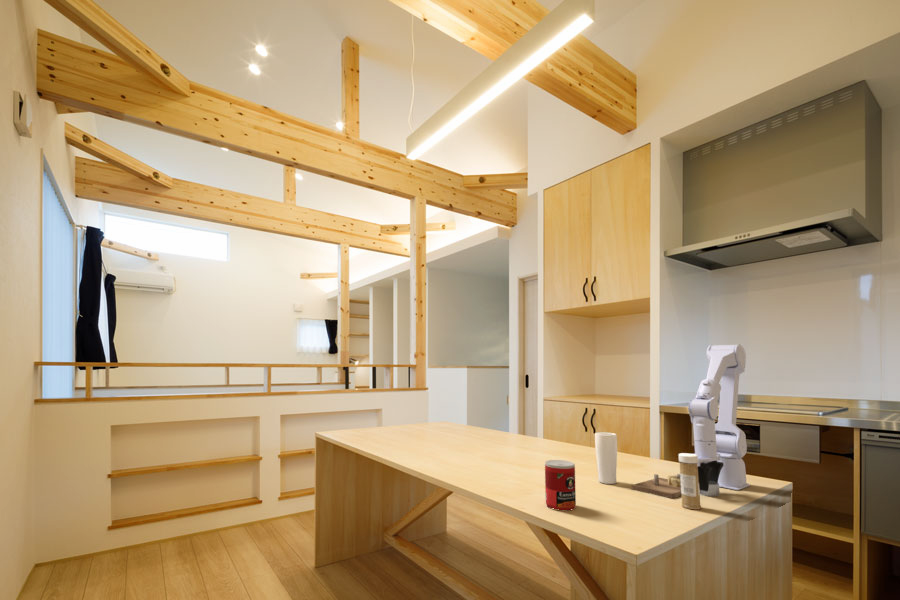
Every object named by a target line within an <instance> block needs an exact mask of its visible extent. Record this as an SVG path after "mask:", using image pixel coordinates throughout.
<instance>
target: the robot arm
mask: <svg viewBox="0 0 900 600" xmlns="http://www.w3.org/2000/svg"><path fill="white" fill-rule="evenodd" d="M706 358H707V359H706V360H707V362H708V364H709V365H708V369H707V373H706V378H705V379H702V380H701V381H700V384H699V387H698V389H697V392H696V394H695V398H693V399H692V400H690V401H689V402H688V409H687V411H688V415H689V417H690V422H691V424H693V440H694V442H693V443H694V454H695V455H697V456H698V464H697V467H698V479H699V489H700V490H703V491H708V488H709V481H714V482H717V483H719V488H725V489H730V490H734V491H735V490H736V491H740V490H742V489H745V488H747V487H750V486H751V484H750V483H747V472H746V464H745V461H744V460H743V458H744V457H745V455H746V454H747V449H748V447H747V446H748V445H747V439H746V437H747V436H746V434H745V432H744V431H743V430H742V429H741V428H739V427H738V426H737V414H738V401H739V400H738V399H739V387H740V386H739V385H740V384H739V383H740V376H741V374H743V373H745V369H746V362H747V361H746V359H747V357H746V350H745V348H744V347H743V345H742V344H741V343H740V344H718V345H717V344H710V345H708V347H707V349H706ZM720 382H721V383H720ZM718 400H719V402H718ZM716 419H717V423H716Z"/></svg>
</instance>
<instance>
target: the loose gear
mask: <svg viewBox="0 0 900 600" xmlns="http://www.w3.org/2000/svg"><path fill="white" fill-rule="evenodd" d="M720 493H721V492H720V487H719V483H717V482H714V481H709V488H708V491H703V490H700V495H701V496H705V495H706V497H715V496H717V497H718V495H719V496H721V494H720Z"/></svg>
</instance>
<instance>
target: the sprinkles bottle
mask: <svg viewBox="0 0 900 600" xmlns="http://www.w3.org/2000/svg"><path fill="white" fill-rule="evenodd" d="M678 463H679V474H680V480H681V494H682V495H681V506H682V508H685V509H688V510H701V509H702V508H701V507H702V505H701V497H700V495H701V494H700V489H699V479H698V467H697V464H698V456H697V455H695V453H687V452H681V453H678Z"/></svg>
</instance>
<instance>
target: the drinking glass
mask: <svg viewBox="0 0 900 600" xmlns="http://www.w3.org/2000/svg"><path fill="white" fill-rule="evenodd" d="M617 435H618V434H617V433H613V432H606V431H605V432H603V431H601V432H599V431H598V432H597V431H596V432H595V433H594V449H595V456H596V457H595V458H596V464H597V465H596V466H597V476H598V478H597V479H598V482H599V483H600V484H604V485H614V484H616V483H617V465H618V463H617V462H618V436H617Z"/></svg>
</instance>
